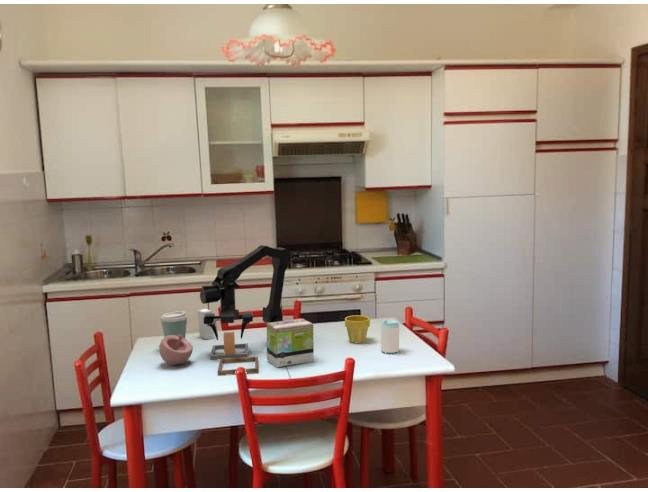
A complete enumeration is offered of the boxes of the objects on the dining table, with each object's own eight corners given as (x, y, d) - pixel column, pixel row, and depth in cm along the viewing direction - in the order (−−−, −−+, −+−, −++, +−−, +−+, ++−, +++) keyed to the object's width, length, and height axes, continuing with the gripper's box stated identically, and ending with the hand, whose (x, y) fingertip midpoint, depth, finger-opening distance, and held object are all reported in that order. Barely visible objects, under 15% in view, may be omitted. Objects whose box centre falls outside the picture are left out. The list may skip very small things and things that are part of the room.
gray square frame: (248, 346, 235) (247, 343, 235) (247, 357, 221) (247, 353, 221) (213, 348, 233) (212, 345, 233) (210, 359, 219) (210, 355, 219)
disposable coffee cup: (162, 354, 227) (160, 317, 225) (161, 347, 237) (159, 311, 235) (190, 351, 230) (188, 314, 228) (187, 344, 240) (185, 308, 238)
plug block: (235, 351, 229) (234, 331, 228) (234, 354, 225) (233, 334, 224) (224, 352, 229) (224, 332, 228) (224, 355, 225) (223, 335, 224)
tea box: (277, 368, 208) (275, 328, 206) (266, 361, 217) (265, 322, 215) (314, 361, 215) (313, 322, 213) (303, 354, 224) (302, 317, 222)
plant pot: (374, 339, 241) (374, 316, 240) (362, 346, 233) (362, 322, 232) (352, 336, 247) (352, 314, 246) (340, 342, 238) (340, 319, 237)
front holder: (258, 360, 217) (257, 356, 217) (258, 372, 204) (258, 368, 203) (220, 362, 216) (220, 358, 216) (217, 375, 202) (217, 371, 202)
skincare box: (214, 338, 249) (213, 310, 247) (205, 340, 246) (204, 312, 244) (207, 335, 253) (206, 308, 252) (198, 337, 250) (197, 309, 249)
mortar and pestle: (182, 370, 208) (181, 339, 206) (153, 368, 211) (151, 337, 210) (199, 360, 219) (197, 330, 218) (171, 358, 223) (169, 329, 221)
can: (386, 355, 221) (386, 324, 219) (377, 350, 227) (377, 320, 226) (402, 352, 223) (402, 322, 222) (393, 347, 230) (393, 318, 228)
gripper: (201, 305, 216) (203, 346, 217) (251, 303, 218) (253, 343, 220) (204, 299, 227) (205, 338, 228) (252, 297, 229) (253, 335, 231)
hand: (229, 339), depth 226 cm, fingers open, 9 cm apart
